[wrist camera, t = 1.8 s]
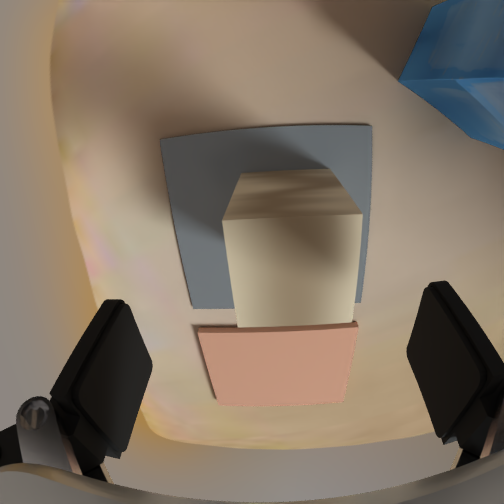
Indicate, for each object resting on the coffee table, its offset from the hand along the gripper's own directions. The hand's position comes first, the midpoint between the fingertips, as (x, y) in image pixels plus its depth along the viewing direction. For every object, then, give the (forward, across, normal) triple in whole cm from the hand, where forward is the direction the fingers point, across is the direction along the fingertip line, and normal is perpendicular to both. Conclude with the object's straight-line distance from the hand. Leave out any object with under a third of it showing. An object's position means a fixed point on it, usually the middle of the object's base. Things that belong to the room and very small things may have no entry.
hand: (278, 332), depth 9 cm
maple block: (+10, -1, 0) cm, 10 cm away
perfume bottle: (+10, -12, -9) cm, 18 cm away
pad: (+10, 0, +14) cm, 17 cm away
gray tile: (+10, 0, +1) cm, 10 cm away
